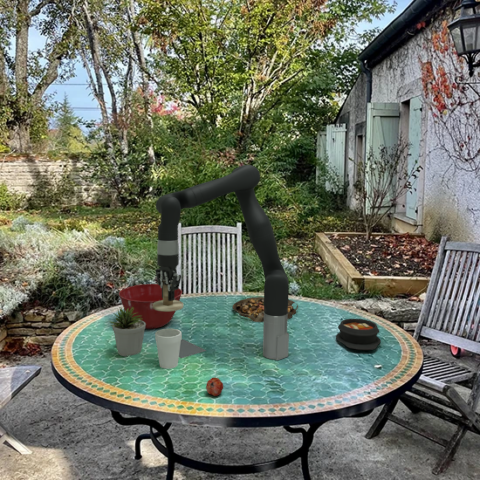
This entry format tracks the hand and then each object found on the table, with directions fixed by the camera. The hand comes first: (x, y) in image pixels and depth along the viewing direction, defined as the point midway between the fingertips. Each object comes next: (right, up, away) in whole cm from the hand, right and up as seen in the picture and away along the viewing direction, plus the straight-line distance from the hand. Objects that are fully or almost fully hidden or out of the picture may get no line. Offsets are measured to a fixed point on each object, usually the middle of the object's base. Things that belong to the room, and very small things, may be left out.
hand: (168, 299), depth 173 cm
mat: (+3, -23, +19) cm, 30 cm away
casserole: (+76, -23, +31) cm, 85 cm away
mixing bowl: (-15, -18, +50) cm, 55 cm away
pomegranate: (+18, -29, -17) cm, 38 cm away
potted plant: (-18, -23, +15) cm, 33 cm away
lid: (0, -3, 0) cm, 3 cm away
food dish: (+39, -16, +71) cm, 83 cm away
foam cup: (0, -25, +3) cm, 26 cm away
